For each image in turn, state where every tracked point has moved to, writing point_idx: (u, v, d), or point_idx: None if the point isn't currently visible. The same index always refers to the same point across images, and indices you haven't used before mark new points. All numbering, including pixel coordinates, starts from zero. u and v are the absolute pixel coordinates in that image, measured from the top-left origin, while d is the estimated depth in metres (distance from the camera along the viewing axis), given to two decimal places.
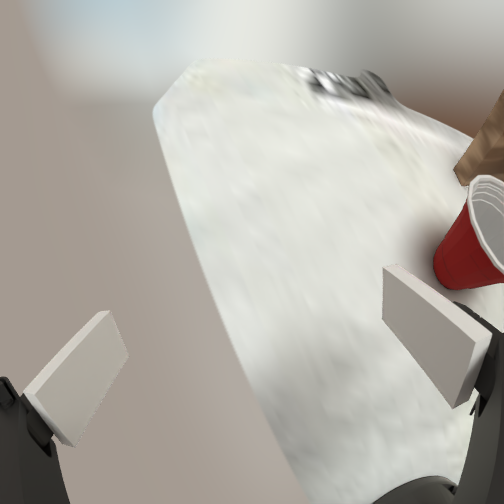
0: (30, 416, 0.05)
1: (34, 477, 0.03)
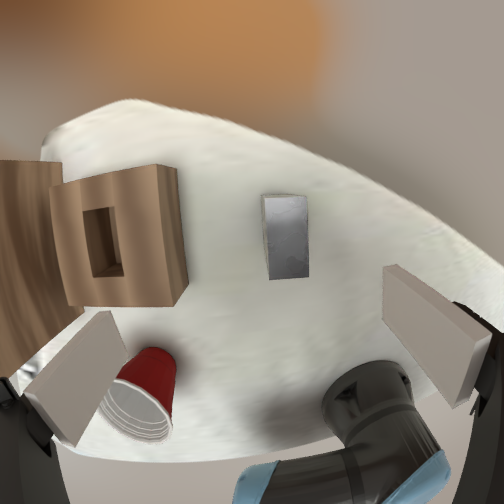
0: (30, 416, 0.05)
1: (34, 477, 0.03)
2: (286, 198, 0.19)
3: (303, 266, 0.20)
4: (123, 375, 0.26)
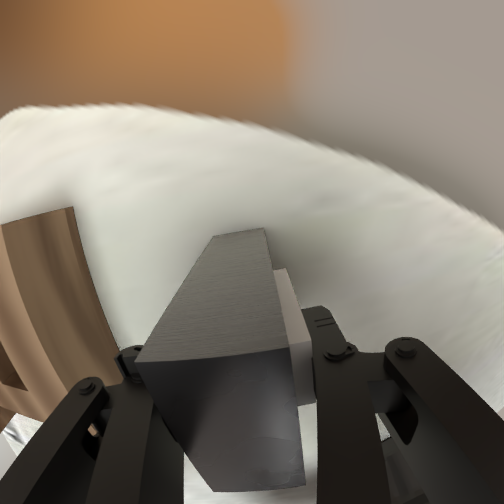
0: None
1: (156, 475, 0.04)
2: (209, 360, 0.05)
3: (290, 477, 0.06)
4: None
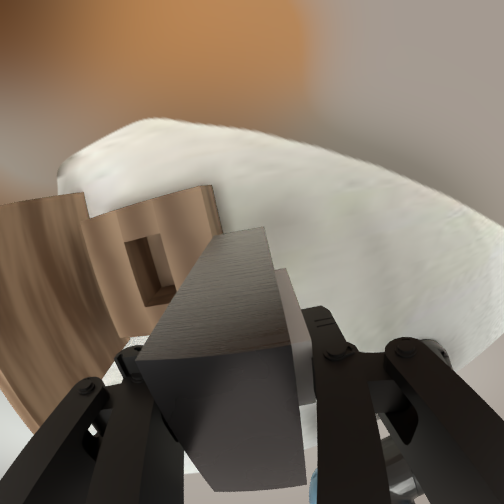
0: None
1: (156, 475, 0.04)
2: (211, 358, 0.05)
3: (291, 476, 0.06)
4: None
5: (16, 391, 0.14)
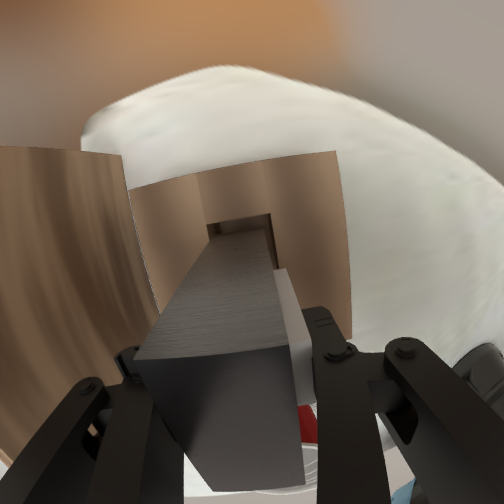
0: None
1: (156, 475, 0.04)
2: (208, 358, 0.05)
3: (290, 477, 0.06)
4: None
5: None
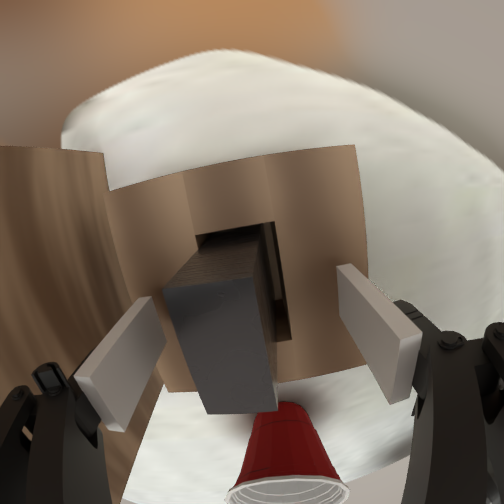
0: (80, 402, 0.07)
1: (77, 473, 0.04)
2: (206, 285, 0.08)
3: (264, 398, 0.10)
4: (280, 465, 0.16)
5: None
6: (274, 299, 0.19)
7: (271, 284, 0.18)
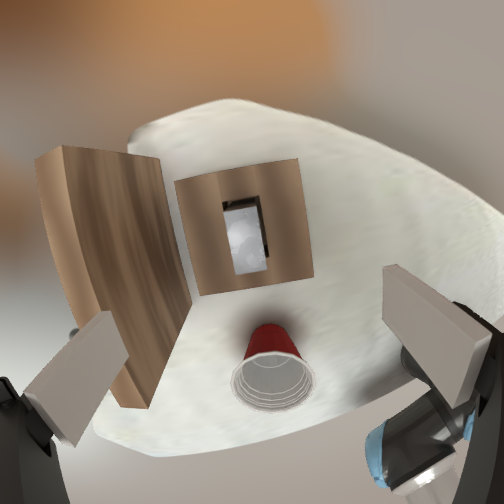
0: (30, 416, 0.05)
1: (34, 477, 0.03)
2: (240, 209, 0.24)
3: (261, 261, 0.26)
4: (267, 349, 0.32)
5: None
6: None
7: None
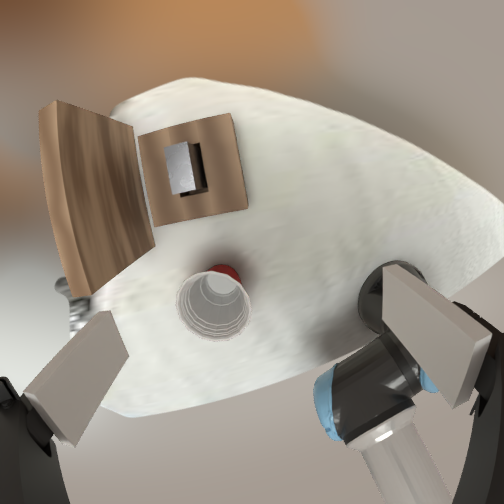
0: (30, 416, 0.05)
1: (34, 477, 0.03)
2: (175, 144, 0.30)
3: (190, 183, 0.31)
4: None
5: (74, 231, 0.24)
6: None
7: (205, 175, 0.40)
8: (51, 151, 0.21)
